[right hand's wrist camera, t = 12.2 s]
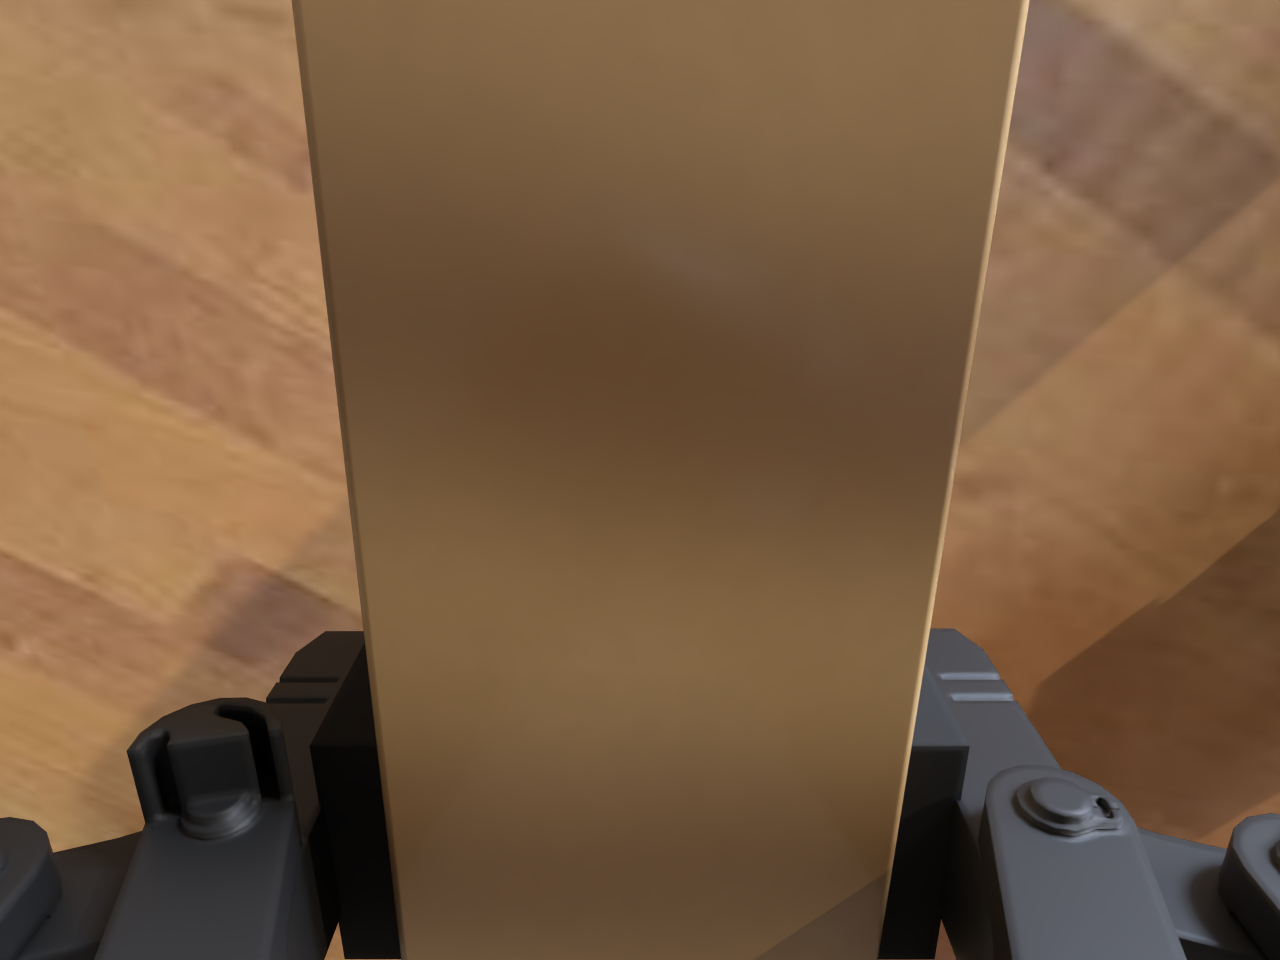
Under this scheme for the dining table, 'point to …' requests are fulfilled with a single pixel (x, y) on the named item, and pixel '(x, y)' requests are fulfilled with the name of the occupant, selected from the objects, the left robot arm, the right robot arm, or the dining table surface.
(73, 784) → the dining table surface
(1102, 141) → the dining table surface
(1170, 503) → the dining table surface
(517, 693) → the post
